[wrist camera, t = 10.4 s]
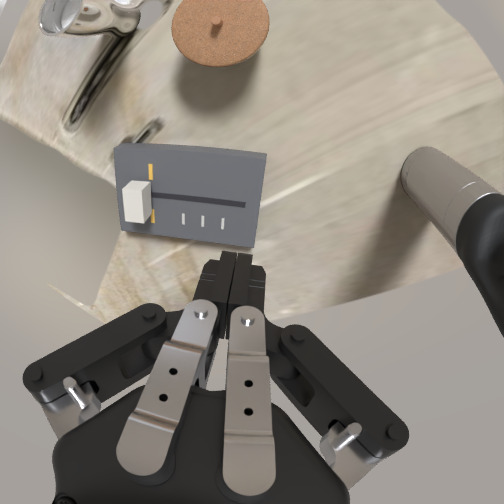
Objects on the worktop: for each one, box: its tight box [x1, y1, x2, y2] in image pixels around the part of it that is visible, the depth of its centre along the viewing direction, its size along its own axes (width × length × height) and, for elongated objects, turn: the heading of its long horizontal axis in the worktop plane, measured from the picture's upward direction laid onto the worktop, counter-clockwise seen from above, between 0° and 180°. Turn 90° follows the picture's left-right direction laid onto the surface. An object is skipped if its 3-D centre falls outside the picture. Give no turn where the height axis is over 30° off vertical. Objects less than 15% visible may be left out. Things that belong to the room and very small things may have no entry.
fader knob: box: [122, 180, 152, 223], centre depth 39 cm, size 3×5×4 cm, turn 174°
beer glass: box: [38, 0, 141, 38], centre depth 22 cm, size 7×7×15 cm
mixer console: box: [114, 143, 267, 248], centre depth 42 cm, size 22×14×3 cm, turn 84°
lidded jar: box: [172, 0, 269, 67], centre depth 26 cm, size 11×11×9 cm
